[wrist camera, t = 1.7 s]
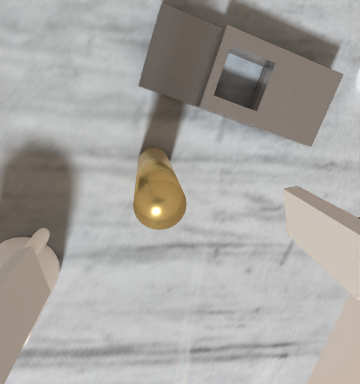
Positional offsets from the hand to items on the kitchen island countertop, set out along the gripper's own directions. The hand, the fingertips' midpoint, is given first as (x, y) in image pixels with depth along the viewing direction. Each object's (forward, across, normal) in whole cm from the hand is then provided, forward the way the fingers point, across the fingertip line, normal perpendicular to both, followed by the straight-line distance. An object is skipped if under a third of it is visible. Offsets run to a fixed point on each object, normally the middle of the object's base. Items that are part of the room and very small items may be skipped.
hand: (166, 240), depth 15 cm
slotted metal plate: (+20, +11, +7) cm, 24 cm away
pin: (+20, 0, 0) cm, 20 cm away
